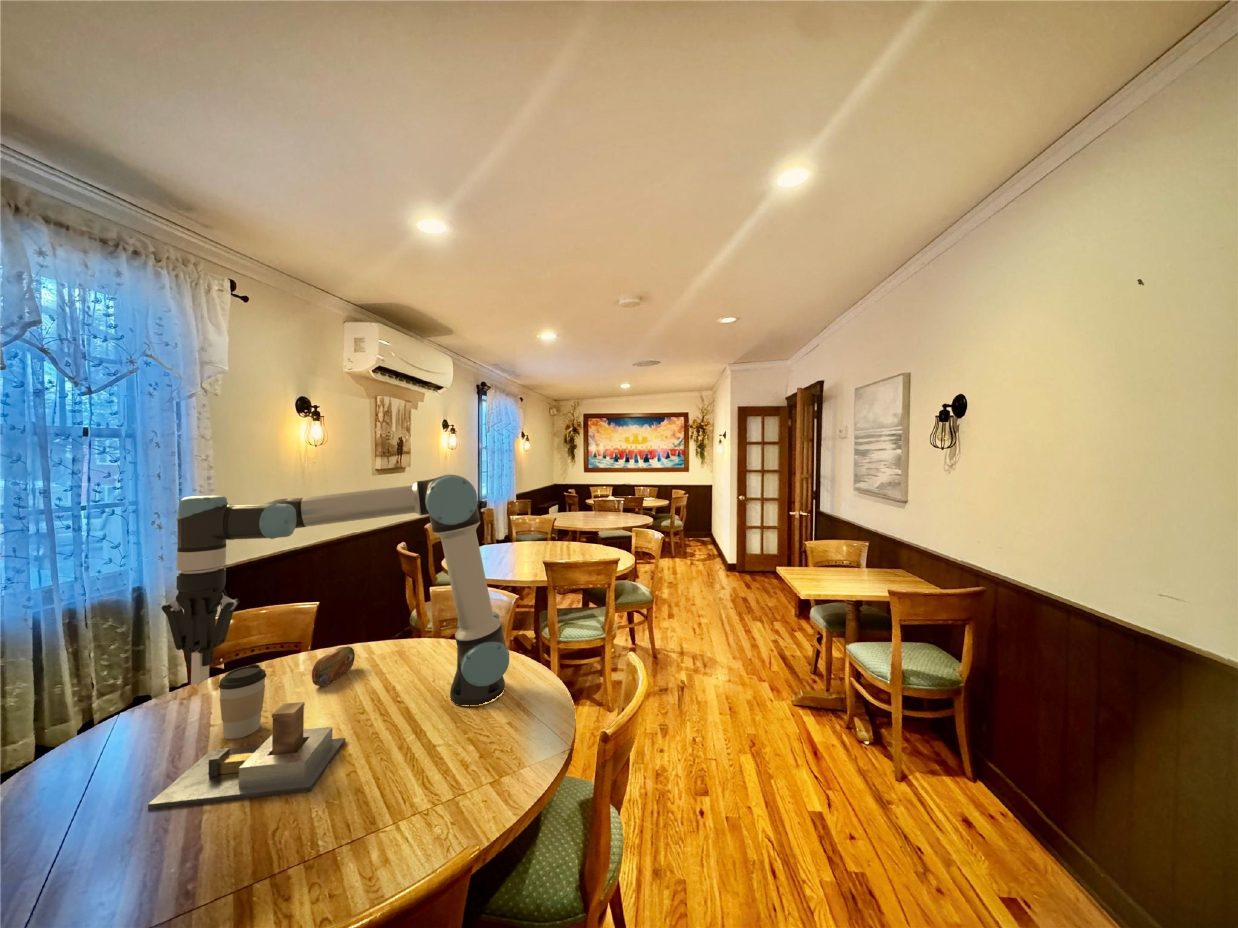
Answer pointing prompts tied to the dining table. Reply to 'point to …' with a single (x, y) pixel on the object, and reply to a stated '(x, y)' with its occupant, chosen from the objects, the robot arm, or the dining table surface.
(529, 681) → the dining table surface
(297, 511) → the robot arm
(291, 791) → the dock
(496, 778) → the dining table surface
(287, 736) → the peg
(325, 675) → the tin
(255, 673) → the coffee cup
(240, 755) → the pin
